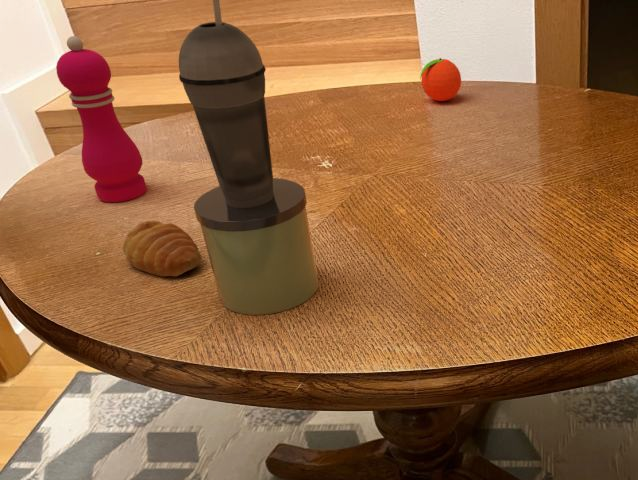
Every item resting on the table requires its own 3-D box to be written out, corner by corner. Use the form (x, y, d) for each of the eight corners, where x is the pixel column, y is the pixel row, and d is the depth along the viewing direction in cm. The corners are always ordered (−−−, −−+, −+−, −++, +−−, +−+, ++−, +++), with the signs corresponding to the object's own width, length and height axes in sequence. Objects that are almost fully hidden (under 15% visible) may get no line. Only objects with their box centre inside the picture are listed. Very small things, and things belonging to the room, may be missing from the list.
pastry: (219, 263, 80) (210, 232, 78) (164, 288, 76) (153, 256, 74) (174, 241, 86) (164, 210, 84) (120, 263, 82) (109, 232, 80)
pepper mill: (83, 203, 96) (26, 43, 85) (113, 182, 102) (64, 30, 91) (132, 205, 95) (81, 43, 84) (160, 184, 101) (116, 29, 90)
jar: (201, 288, 76) (176, 198, 70) (289, 256, 81) (272, 169, 76) (246, 328, 69) (223, 232, 64) (339, 289, 75) (325, 197, 69)
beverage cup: (239, 180, 73) (189, -43, 62) (302, 187, 71) (262, -43, 60) (194, 209, 68) (131, -30, 57) (262, 217, 66) (210, -30, 54)
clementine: (434, 110, 124) (431, 66, 120) (410, 102, 128) (406, 60, 124) (470, 100, 128) (468, 57, 124) (445, 92, 132) (443, 51, 128)
